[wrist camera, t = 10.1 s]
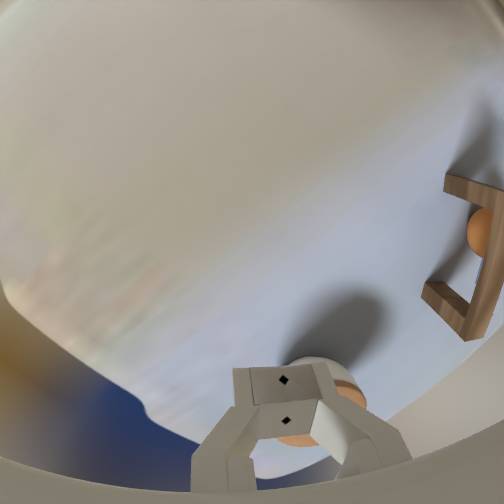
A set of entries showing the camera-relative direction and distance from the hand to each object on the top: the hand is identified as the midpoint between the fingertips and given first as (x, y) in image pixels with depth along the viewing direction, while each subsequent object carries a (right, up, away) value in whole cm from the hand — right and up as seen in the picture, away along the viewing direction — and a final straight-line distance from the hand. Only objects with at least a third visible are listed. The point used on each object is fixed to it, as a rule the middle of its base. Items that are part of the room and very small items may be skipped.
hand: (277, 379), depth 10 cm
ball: (+27, +6, +19) cm, 34 cm away
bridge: (+21, +6, +23) cm, 32 cm away
